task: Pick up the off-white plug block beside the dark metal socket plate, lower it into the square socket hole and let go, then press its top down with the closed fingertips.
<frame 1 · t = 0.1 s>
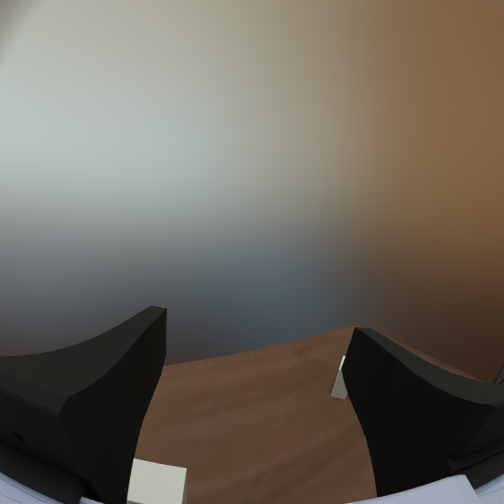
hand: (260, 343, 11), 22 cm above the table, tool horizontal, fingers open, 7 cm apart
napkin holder: (341, 383, 45), on the table
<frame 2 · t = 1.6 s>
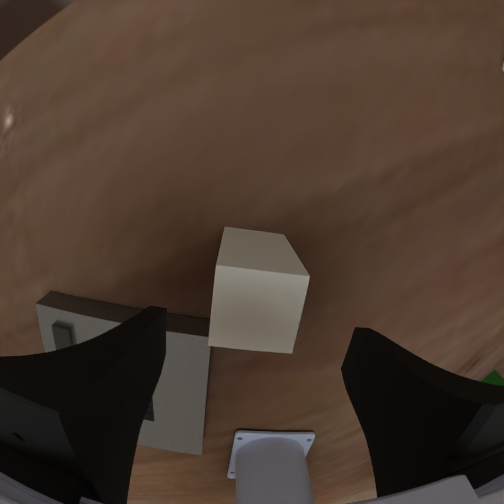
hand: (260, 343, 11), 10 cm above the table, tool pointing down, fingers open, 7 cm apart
plug: (250, 258, 21), on the table
socket: (129, 375, 23), on the table
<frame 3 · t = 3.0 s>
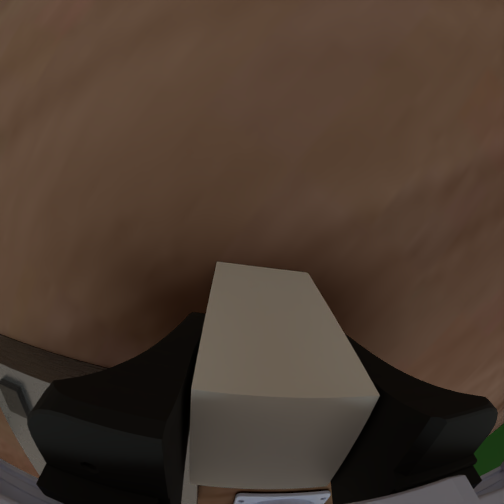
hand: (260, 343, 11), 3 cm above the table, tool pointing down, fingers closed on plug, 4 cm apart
hardback book: (467, 460, 21), on the table
plug: (256, 308, 14), on the table, touching gripper
socket: (102, 436, 16), on the table
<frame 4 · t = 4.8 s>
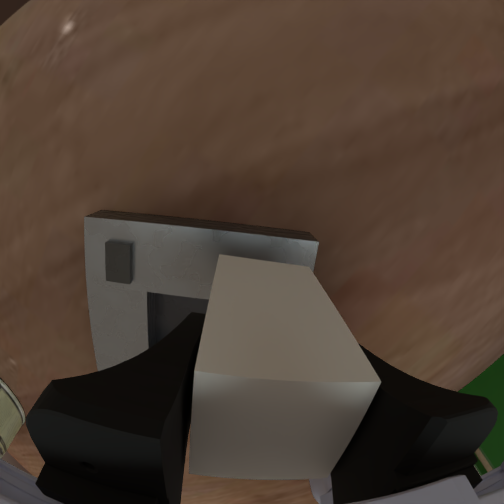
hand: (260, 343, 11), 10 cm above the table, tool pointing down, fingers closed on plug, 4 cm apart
hardback book: (499, 373, 26), on the table
plug: (257, 301, 14), point 6 cm above the table, touching gripper
socket: (193, 317, 21), on the table
when the fingers open (4 cm above the table, at t = 7.0 s): plug stays where it is, resting on socket.
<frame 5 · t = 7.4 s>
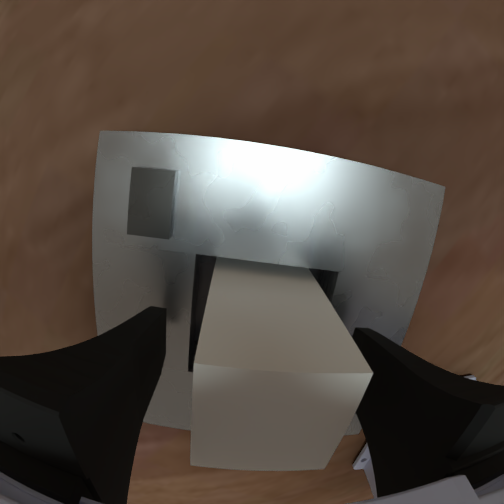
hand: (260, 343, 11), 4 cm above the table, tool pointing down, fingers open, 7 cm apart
plug: (255, 298, 14), resting on socket
socket: (255, 301, 14), on the table
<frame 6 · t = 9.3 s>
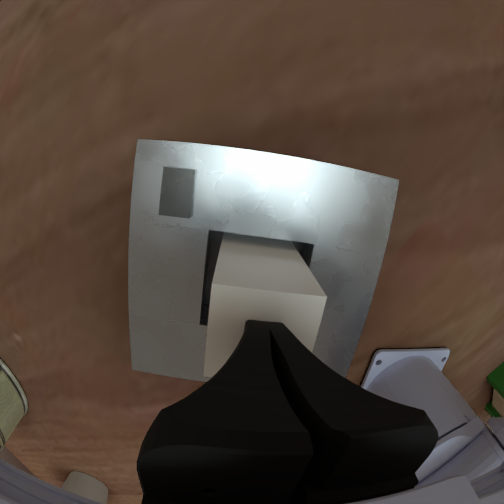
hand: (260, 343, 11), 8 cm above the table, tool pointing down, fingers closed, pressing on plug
dixie cup: (89, 481, 26), on the table
plug: (252, 268, 18), resting on socket, touching gripper
socket: (252, 271, 19), on the table
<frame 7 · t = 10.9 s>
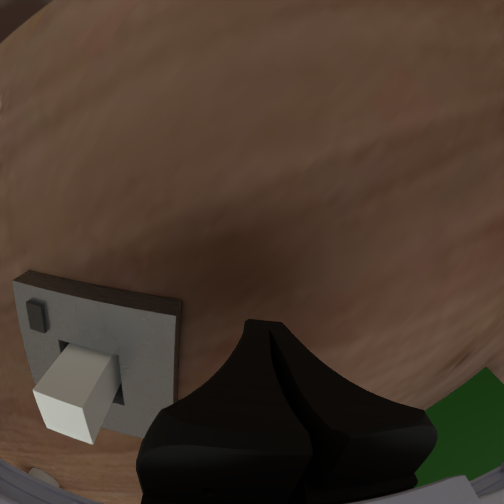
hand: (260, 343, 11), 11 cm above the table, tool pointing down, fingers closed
hardback book: (430, 421, 28), on the table
dixie cup: (45, 476, 30), on the table
plug: (100, 357, 23), resting on socket
socket: (101, 357, 23), on the table
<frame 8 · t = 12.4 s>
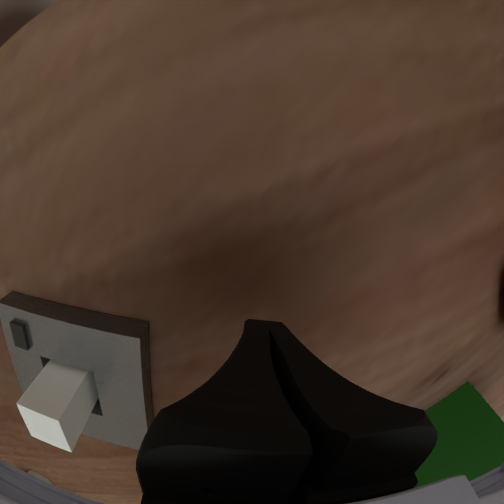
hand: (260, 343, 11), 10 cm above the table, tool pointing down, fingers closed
hardback book: (410, 434, 28), on the table
dixie cup: (41, 479, 31), on the table
plug: (80, 371, 23), resting on socket
socket: (81, 371, 23), on the table
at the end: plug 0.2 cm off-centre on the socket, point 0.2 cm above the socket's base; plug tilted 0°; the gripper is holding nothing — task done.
